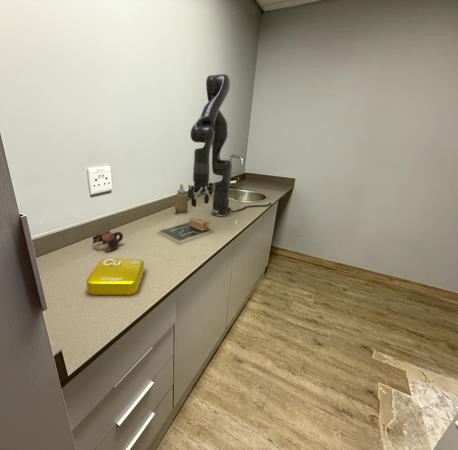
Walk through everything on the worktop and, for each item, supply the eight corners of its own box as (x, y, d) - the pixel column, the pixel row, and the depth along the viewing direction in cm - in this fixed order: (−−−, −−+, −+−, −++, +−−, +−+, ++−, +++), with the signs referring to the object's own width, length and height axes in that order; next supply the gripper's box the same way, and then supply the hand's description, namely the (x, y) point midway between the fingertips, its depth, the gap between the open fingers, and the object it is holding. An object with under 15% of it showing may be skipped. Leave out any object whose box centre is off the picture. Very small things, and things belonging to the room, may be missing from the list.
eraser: (196, 225, 128) (196, 216, 126) (208, 230, 122) (209, 221, 120) (189, 227, 124) (189, 218, 123) (201, 233, 119) (202, 223, 117)
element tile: (85, 295, 72) (83, 281, 71) (102, 268, 86) (101, 257, 85) (136, 295, 73) (135, 282, 72) (145, 269, 87) (144, 257, 86)
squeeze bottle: (181, 210, 156) (182, 182, 149) (190, 213, 150) (191, 184, 144) (171, 212, 150) (171, 184, 144) (180, 216, 145) (180, 186, 138)
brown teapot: (99, 256, 96) (90, 237, 95) (98, 256, 104) (90, 238, 104) (128, 243, 101) (119, 225, 100) (125, 244, 110) (117, 227, 109)
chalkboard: (191, 223, 134) (191, 221, 134) (212, 232, 124) (212, 229, 123) (158, 233, 119) (158, 230, 119) (179, 243, 109) (179, 241, 108)
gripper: (195, 174, 106) (195, 209, 112) (217, 171, 116) (215, 203, 122) (184, 171, 111) (184, 205, 117) (206, 169, 121) (204, 200, 127)
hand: (200, 204), depth 119 cm, fingers open, 8 cm apart
